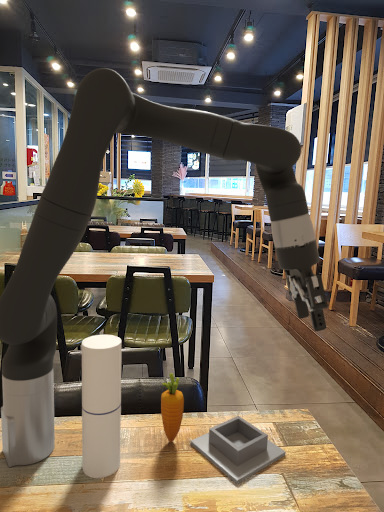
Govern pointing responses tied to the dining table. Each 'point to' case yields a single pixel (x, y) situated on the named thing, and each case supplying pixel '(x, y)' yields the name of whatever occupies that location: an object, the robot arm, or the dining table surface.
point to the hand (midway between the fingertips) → (311, 323)
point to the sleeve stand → (238, 448)
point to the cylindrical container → (101, 405)
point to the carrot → (172, 408)
